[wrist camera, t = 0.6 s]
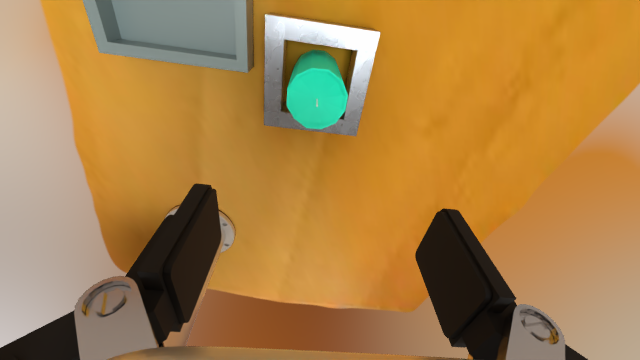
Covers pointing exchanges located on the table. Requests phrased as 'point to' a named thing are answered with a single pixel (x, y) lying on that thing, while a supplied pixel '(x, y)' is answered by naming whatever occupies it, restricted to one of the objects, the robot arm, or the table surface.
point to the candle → (316, 90)
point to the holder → (321, 34)
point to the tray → (176, 31)
